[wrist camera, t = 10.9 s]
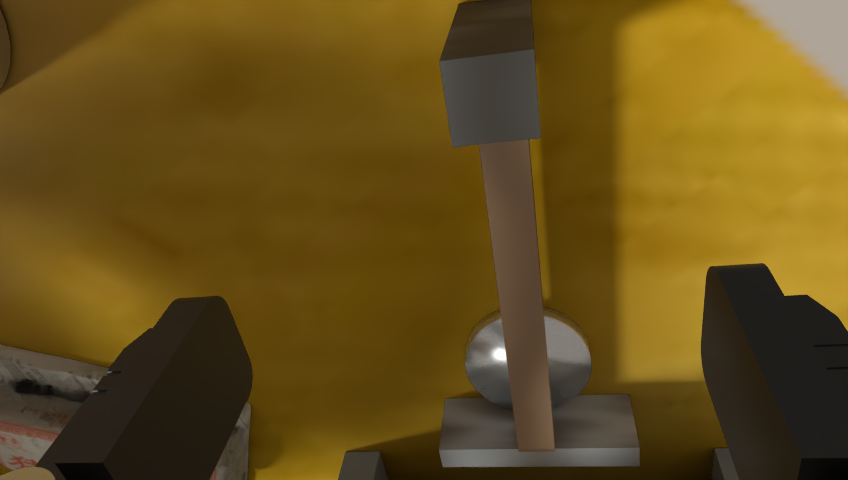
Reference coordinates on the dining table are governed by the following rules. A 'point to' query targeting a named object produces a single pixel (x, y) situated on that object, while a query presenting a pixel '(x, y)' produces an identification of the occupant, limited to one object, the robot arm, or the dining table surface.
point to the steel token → (563, 352)
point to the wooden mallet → (516, 259)
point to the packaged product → (71, 409)
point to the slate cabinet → (368, 476)
